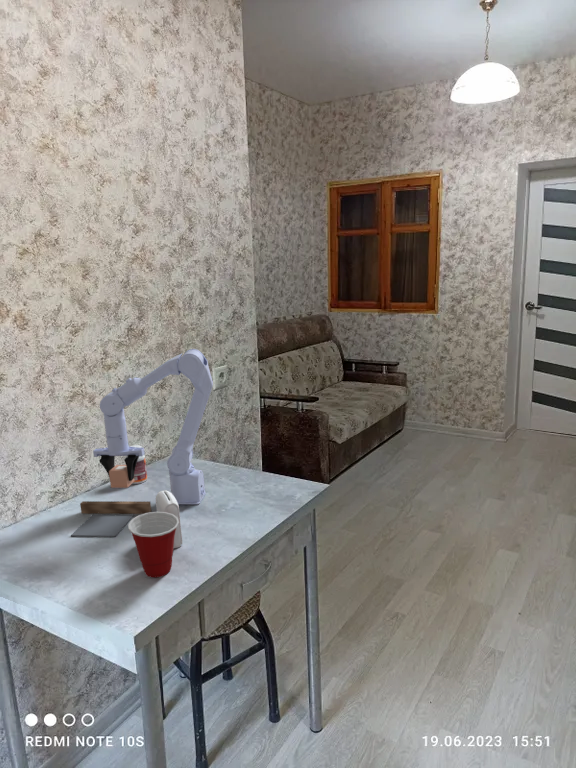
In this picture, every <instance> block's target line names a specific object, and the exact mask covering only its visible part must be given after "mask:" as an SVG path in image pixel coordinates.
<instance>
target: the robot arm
mask: <svg viewBox="0 0 576 768" xmlns="http://www.w3.org/2000/svg"><path fill="white" fill-rule="evenodd" d="M208 361H209V360H208V359H207V358H206V357H205V355H204V353H202V352H201V351H200V350H199V349H196V348H191V349H188V350H186V351H185V352H184V353H183V352H182V353H180V354H177V355H175V356H174V357H172V358H169V359H168V360H166V361H165V362H164V363H162V364H161V365H159V366H158V367H156V368H155V369H153V370H152V371H151V372H149V373H148V374H146V375H145V376H143V377H132V378H131V377H128V378H127V379H126V380H125V383H123V384H122V385H120V386H119V387H114V388H113V389H111V392H109V393H107V394H106V395H104V397H103V398H102V399H101V400H100V403H99V408H100V411H101V413H103V420H104V421H103V423H104V430H105V437H106V444H107V445H106V446H107V447H100V448H95V449H93V451H92V453H93V457H94V458H98V457H100V458H99V460H98V461H99V463H100V464H101V465H102V467H103V468H104V469H105V471H106V473H107V475H108V477H109V479H110V476H109V471H110V470H111V469H112V468H113V467H114V466H116V465H115V457H123V456H124V457H125V458H124V461H123V462H124V463H125V465H126V466H127V471H128V478H129V481H132V480H133V479H134V472H135V467H136V463H137V461H138V458H139V456H143V455H145V451H146V450H145V447H142V448H137V447H130V446H131V445H129V438H128V428H127V423H126V421H127V420H126V416H125V409H124V408H126V407H129V406H130V405H132V404H134V402H136V401H139V400H140V399H141V398H143V397H144V396H146V395H147V393H148V388H149V387H151V386H154V385H155V384H157V383H158V382H160V381H162V380H163V379H165V378H167V377H168V376H170V375H173V376H175V375H176V376H180V375H181V374H182V375H184V376H185V377H186V378H187V379H188V380H189V381H190V382H191V384H192V386H193V387H194V391H193V393H192V397H191V400H190V403H189V406H188V410H187V413H186V416H185V419H184V420H183V421H184V422H183V424H182V428H181V431H180V433H179V437H178V440H177V442H176V444H175V446H174V447H173V448H172V451H171V454H170V456H169V457H168V459H167V462H166V465H167V468H168V469H167V470H168V473H169V474H168V475H169V484H170V493H172V494H173V496H174V497H175V499H176V500H177V503H178V505H199V504H200V503H201V502H202V500H203V499H204V497H205V496H206V494H207V492H206V488H205V475H204V472H203V470H200V469H196V468H195V466H194V464H193V463H192V462H191V461H192V459H193V457H194V451H193V450H194V449H193V447H194V444H195V441H196V438H197V435H198V433H199V432H198V431H199V429H200V426H201V422H202V419H203V417H204V413H205V410H206V407H207V404H208V401H209V399H210V396H211V393H212V389H213V386H214V382H213V378H212V374H211V370H210V367H209V362H208ZM126 456H128V457H127V458H126Z"/></svg>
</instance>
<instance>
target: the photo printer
mask: <svg viewBox="0 0 576 768" xmlns="http://www.w3.org/2000/svg"><path fill="white" fill-rule="evenodd" d="M155 505H156V512H167V513H170V514H173V515H175V516H176V517H177V518H178V520H179V524H178V526H177V527H176V531H175V536H174V547H173V549H177V548H180V547H181V546H182V545H183V533H182V524H181V515H180V508H179V507H180V506H179V505H180V504H178V503H177V500H176V499H175V497H174V496H173V494H172V493H171V491H169V490H166V489H165V490H160V491H159V492H157V493H156V495H155Z"/></svg>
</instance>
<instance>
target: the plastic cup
mask: <svg viewBox="0 0 576 768" xmlns="http://www.w3.org/2000/svg"><path fill="white" fill-rule="evenodd" d="M178 524H179V520H178V518H177V517H176V516H175V515H173V514H170V513H167V512H157V511H151V512H150V513H145V514H137V516H135V517H133V518H132V519H131V520H130V521H129V522H128V523H127V526H128V530H129V531H130V533H131V536H132V538H133V542H134V543H135V547H136V551H137V554H138V557H139V561H140V563H141V565H142V568H143V573H145V575H146V576H147V577H149V578H160V577H164V576H166V575H168V573H170V572H171V570H172V566H173V556H174V555H173V554H174V548H173V547H174V536H175V531H176V527H177V526H178Z"/></svg>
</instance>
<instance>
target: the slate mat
mask: <svg viewBox="0 0 576 768" xmlns="http://www.w3.org/2000/svg"><path fill="white" fill-rule="evenodd" d="M134 516H135V514H90V516H89V517H88V518H87V519H86V520H85V521H84V522H83V523H82V524H81V525H80V526H79V527H77V529H76V530H75V531H73V532H72V533H71V534H70V537H71V538H72V537H73V538H75V537H76V538H78V537H80V538H81V537H83V538H89V537H90V538H116V537H117V536H118V535H119V534H120V532H121V531H122V530H124V528H125V527H126V526H127V525H128V524H129V522H130V521H131V520H132V519H133V518H134Z"/></svg>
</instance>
